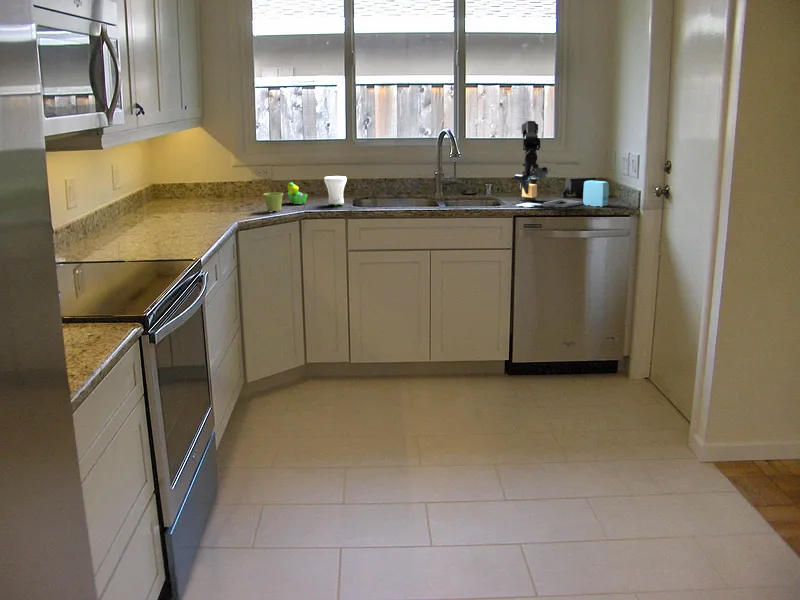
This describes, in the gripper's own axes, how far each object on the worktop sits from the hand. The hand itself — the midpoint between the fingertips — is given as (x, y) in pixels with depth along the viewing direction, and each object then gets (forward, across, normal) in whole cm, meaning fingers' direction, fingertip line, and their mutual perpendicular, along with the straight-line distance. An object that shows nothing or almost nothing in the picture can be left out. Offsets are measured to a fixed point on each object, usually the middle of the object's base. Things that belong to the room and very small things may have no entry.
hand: (529, 193), depth 383 cm
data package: (+6, +22, -24) cm, 33 cm away
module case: (+6, +13, -11) cm, 18 cm away
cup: (+6, -62, +75) cm, 98 cm away
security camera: (+6, +44, 0) cm, 44 cm away
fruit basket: (+6, -72, +95) cm, 119 cm away
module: (+2, 0, 0) cm, 2 cm away
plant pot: (+6, -96, +82) cm, 126 cm away
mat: (+6, 0, 0) cm, 6 cm away
